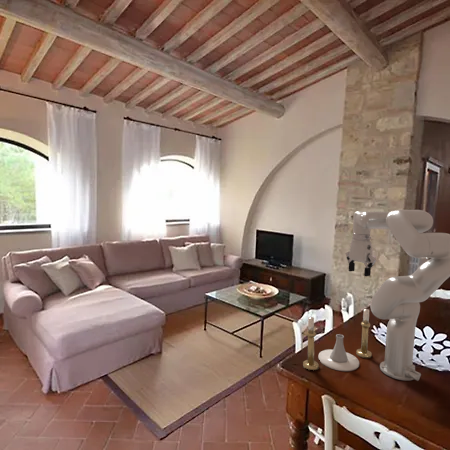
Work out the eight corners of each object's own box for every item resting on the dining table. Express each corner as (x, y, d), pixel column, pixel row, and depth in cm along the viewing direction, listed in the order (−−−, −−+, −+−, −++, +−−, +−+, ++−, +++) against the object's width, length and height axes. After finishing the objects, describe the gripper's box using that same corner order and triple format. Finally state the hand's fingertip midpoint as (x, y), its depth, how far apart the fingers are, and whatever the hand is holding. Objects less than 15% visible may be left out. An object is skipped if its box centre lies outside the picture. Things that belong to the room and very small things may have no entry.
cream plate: (368, 366, 127) (368, 364, 127) (336, 374, 121) (336, 372, 121) (339, 348, 142) (339, 347, 142) (310, 354, 136) (310, 353, 136)
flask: (349, 364, 127) (350, 340, 126) (330, 362, 129) (332, 338, 128) (346, 355, 134) (347, 332, 133) (328, 353, 136) (329, 331, 135)
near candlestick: (321, 367, 125) (322, 318, 123) (311, 372, 122) (311, 322, 120) (310, 361, 130) (310, 313, 129) (299, 365, 127) (300, 317, 125)
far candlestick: (374, 356, 135) (377, 311, 133) (363, 359, 133) (366, 313, 131) (363, 350, 141) (366, 306, 139) (353, 352, 139) (355, 308, 137)
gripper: (382, 239, 141) (380, 277, 142) (353, 235, 157) (351, 268, 158) (370, 240, 138) (367, 278, 140) (341, 235, 154) (339, 269, 156)
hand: (359, 273), depth 149 cm, fingers open, 9 cm apart
